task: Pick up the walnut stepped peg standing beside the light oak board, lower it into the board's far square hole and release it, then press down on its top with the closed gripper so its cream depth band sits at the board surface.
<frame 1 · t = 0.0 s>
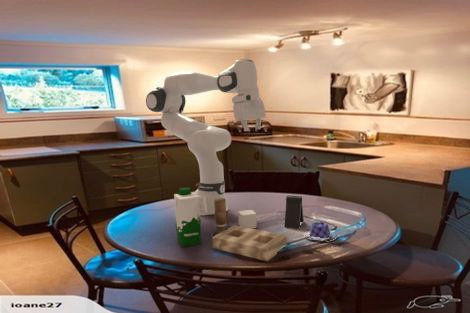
hand: (252, 130, 152), 39 cm above the table, tool pointing down, fingers open, 8 cm apart
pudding: (319, 238, 133), on the table
black a-frame sign: (294, 224, 147), on the table
oak board: (249, 247, 126), on the table
milk carton: (189, 242, 132), on the table
white cube: (247, 226, 147), on the table
walnut peg: (221, 234, 139), on the table
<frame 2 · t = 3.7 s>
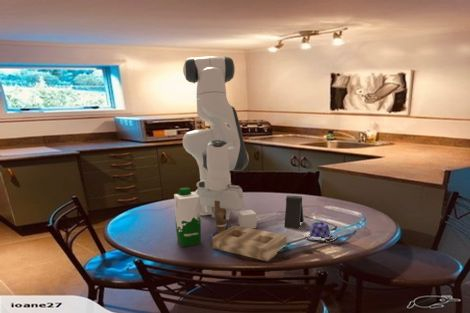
hand: (220, 218, 138), 7 cm above the table, tool pointing down, fingers closed on walnut peg, 4 cm apart
walnut peg: (221, 234, 139), on the table, touching gripper
everything else where it was.
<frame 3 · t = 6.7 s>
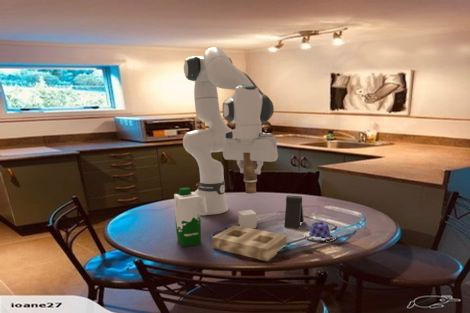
hand: (250, 173, 122), 26 cm above the table, tool pointing down, fingers closed on walnut peg, 4 cm apart
walnut peg: (250, 192, 123), point 20 cm above the table, touching gripper
everything else where it was.
when the fingers open (8 cm above the table, at t = 9.9 s): walnut peg stays where it is, resting in oak board.
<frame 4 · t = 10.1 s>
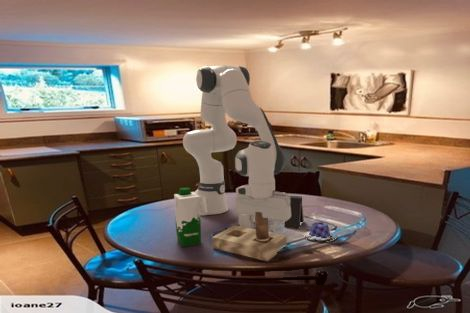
hand: (262, 229, 122), 8 cm above the table, tool pointing down, fingers open, 7 cm apart
walnut peg: (263, 250, 123), resting in oak board
everything else where it was.
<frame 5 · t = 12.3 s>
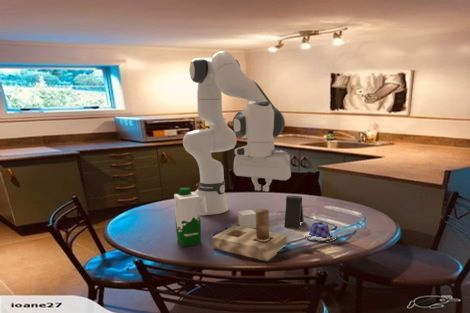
hand: (261, 190, 119), 21 cm above the table, tool pointing down, fingers closed
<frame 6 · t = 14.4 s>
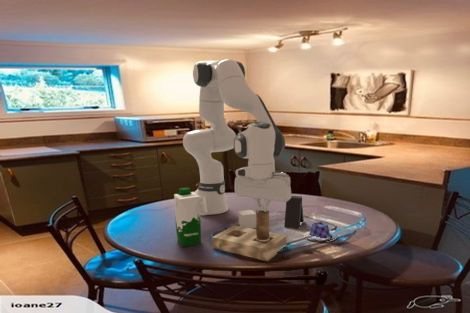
hand: (262, 211, 120), 14 cm above the table, tool pointing down, fingers closed, pressing on walnut peg
walnut peg: (263, 250, 123), resting in oak board, touching gripper
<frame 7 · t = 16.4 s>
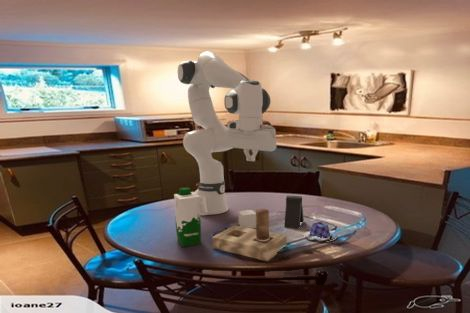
hand: (250, 160, 135), 29 cm above the table, tool pointing down, fingers closed
walnut peg: (263, 250, 123), resting in oak board
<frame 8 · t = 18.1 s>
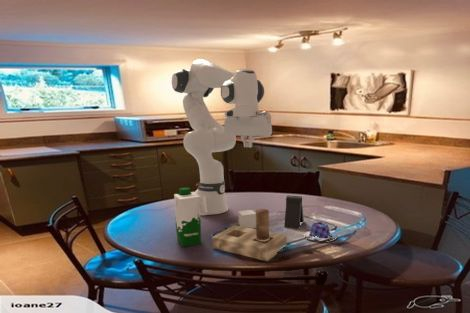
hand: (248, 147, 140), 33 cm above the table, tool pointing down, fingers closed
at the end: walnut peg 0.0 cm from the target spot on the oak board, point 0.0 cm above the oak board's base; walnut peg tilted 0°; the gripper is holding nothing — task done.
